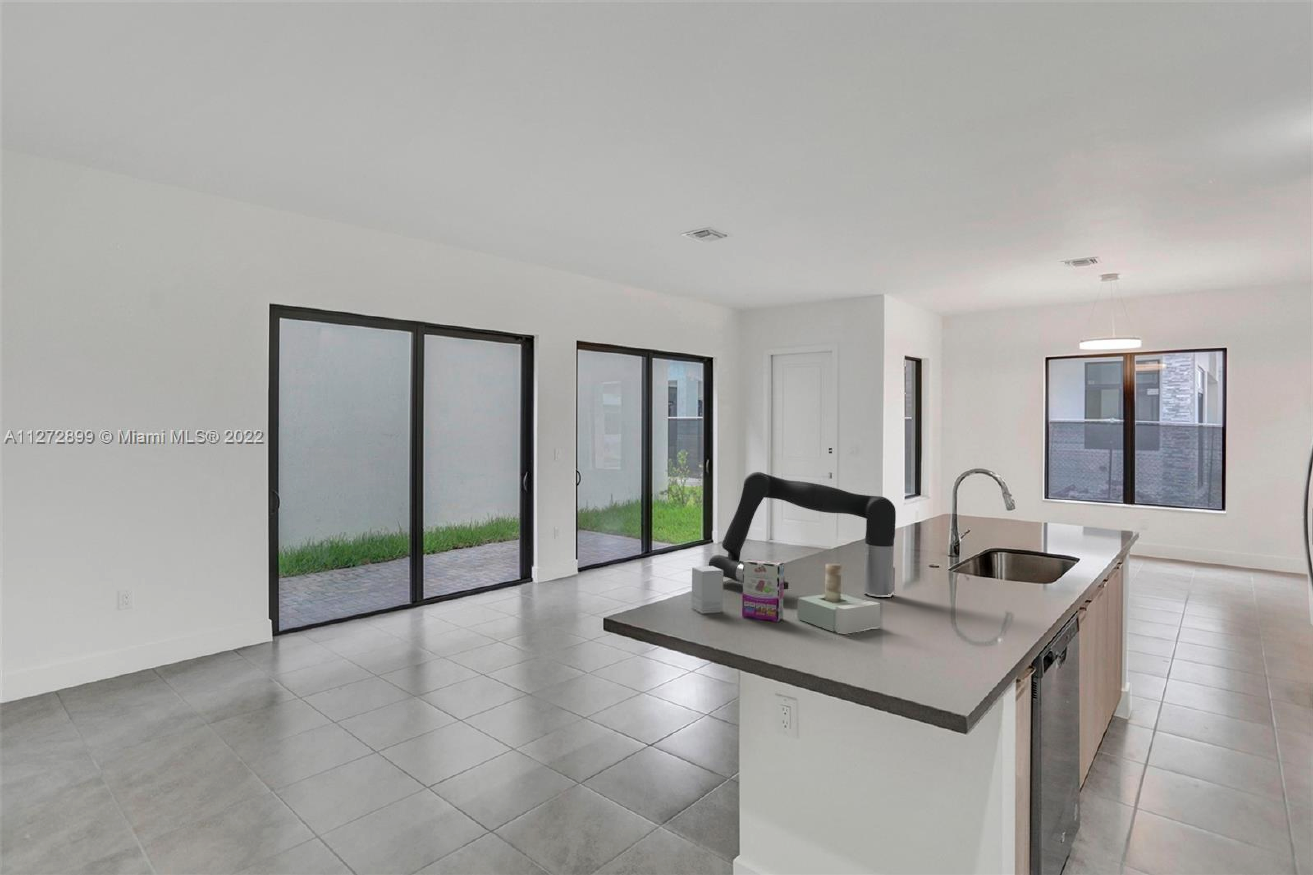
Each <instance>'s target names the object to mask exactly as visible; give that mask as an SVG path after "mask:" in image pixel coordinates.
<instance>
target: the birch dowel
mask: <svg viewBox="0 0 1313 875" xmlns="http://www.w3.org/2000/svg"><path fill="white" fill-rule="evenodd" d="M824 574H825V575H824V576H825V578H824V580H825V582H824V583H825V584H824V594H825V601H827V602H831V603H839V602H841V594H842V564H838V563H825V573H824Z"/></svg>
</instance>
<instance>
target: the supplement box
mask: <svg viewBox="0 0 1313 875" xmlns="http://www.w3.org/2000/svg"><path fill="white" fill-rule="evenodd" d="M691 571H692V572H691V603H690V604H691V606H690V607H691V609H693V610H695V611H696V612H697V613H700V614H715V613H722V612H723V610H724V608H723V607H724V577H723V570H721V569H719V568H716V567H714V566H709V565H707V566H693V567H692V568H691Z"/></svg>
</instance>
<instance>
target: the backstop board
mask: <svg viewBox="0 0 1313 875" xmlns="http://www.w3.org/2000/svg"><path fill="white" fill-rule="evenodd" d="M880 622H881V603H880V602H876V601H872V600H871V601H868V602H863V603H856V604H850V605H843V606H836V619H835V631H836V632H840V633H842V634H845V633H849V632H856V631H860V630H864V629H867V628H871V627H878V626H881V625H880ZM835 631H834V632H835ZM836 632H835V633H836Z"/></svg>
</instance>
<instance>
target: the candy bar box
mask: <svg viewBox="0 0 1313 875" xmlns="http://www.w3.org/2000/svg"><path fill="white" fill-rule="evenodd" d="M742 562H743V584H742V602H741V603H742V607H741V608H742V609H741V611H742V612H741V613H742V614H741V617H743V618H749V619H754V620H761V621H768V622H775V623H779V622H781V621H782V620H783V619H784V589H783V587H784V581H785V579H784V578H785V562H779V561H778V562H776V561H768V560H762V559H761V560H760V559H746V560H744V561H742ZM782 618H783V619H782ZM781 619H782V620H781Z"/></svg>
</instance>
